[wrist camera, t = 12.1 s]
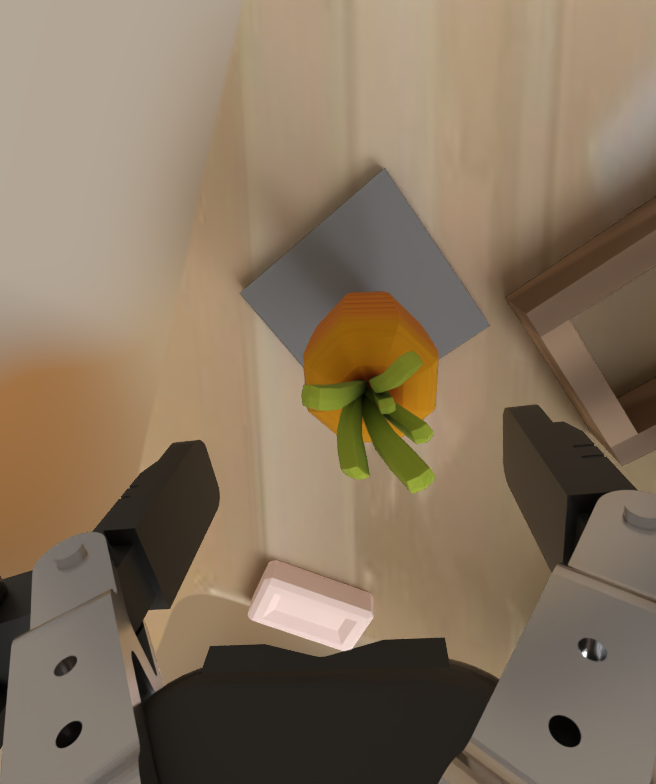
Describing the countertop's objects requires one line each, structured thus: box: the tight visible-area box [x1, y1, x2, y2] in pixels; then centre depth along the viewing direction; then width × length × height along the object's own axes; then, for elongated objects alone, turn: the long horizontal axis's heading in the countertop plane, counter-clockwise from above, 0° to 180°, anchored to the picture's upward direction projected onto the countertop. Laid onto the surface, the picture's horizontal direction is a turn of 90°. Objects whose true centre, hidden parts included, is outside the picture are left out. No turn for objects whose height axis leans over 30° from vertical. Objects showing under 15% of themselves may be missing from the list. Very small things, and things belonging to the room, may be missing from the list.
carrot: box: [302, 291, 439, 493], centre depth 17 cm, size 5×5×15 cm
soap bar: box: [248, 560, 374, 651], centre depth 35 cm, size 5×9×2 cm, turn 68°
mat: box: [240, 168, 490, 368], centre depth 25 cm, size 10×10×1 cm
